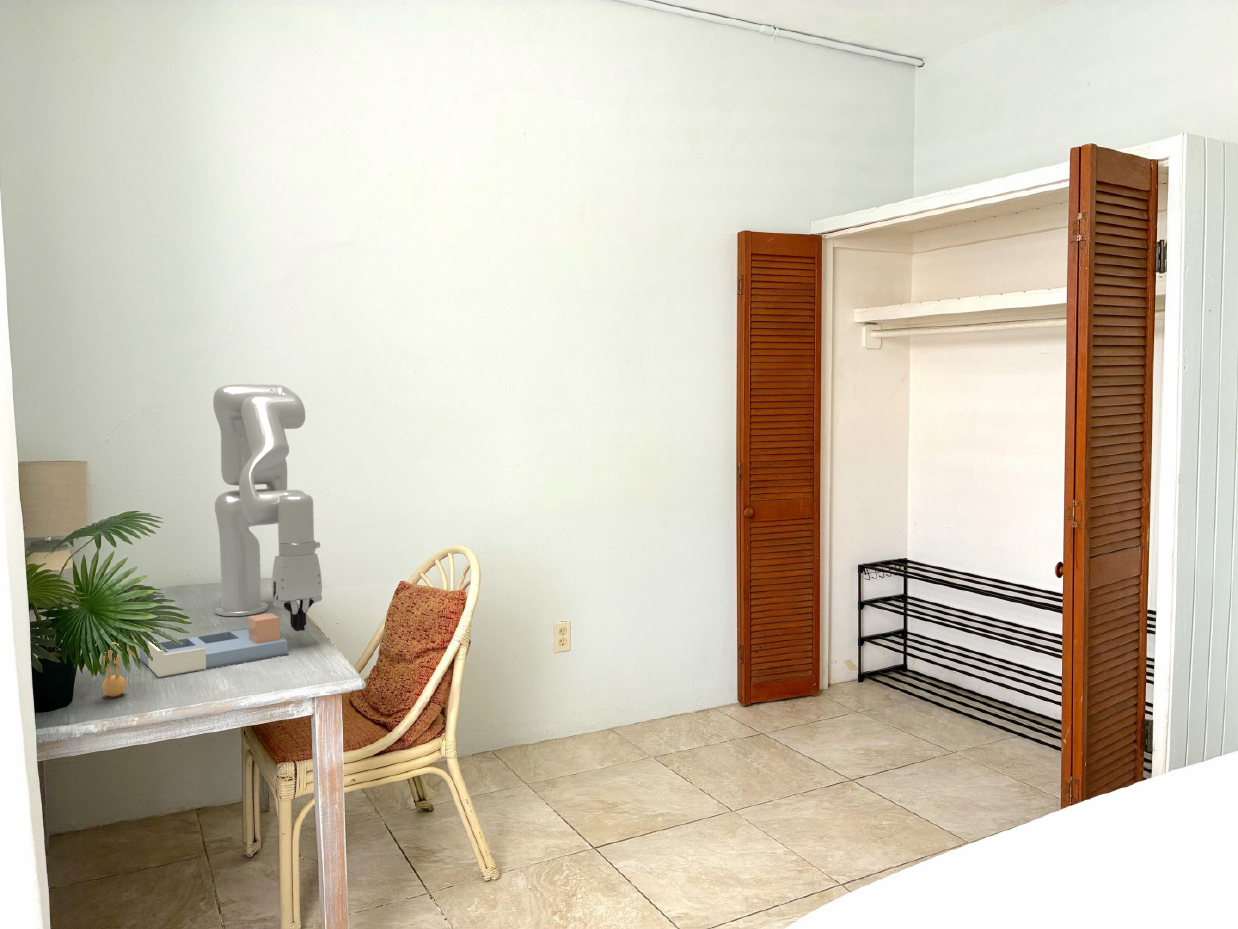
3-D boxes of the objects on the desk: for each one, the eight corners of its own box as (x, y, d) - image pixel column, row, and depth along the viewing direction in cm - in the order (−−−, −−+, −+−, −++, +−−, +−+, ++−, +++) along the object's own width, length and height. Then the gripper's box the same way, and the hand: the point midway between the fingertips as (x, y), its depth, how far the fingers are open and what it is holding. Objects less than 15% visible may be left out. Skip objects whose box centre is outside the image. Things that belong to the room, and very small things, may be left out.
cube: (248, 638, 203) (248, 616, 202) (271, 635, 206) (271, 613, 206) (256, 643, 199) (255, 621, 198) (279, 639, 202) (279, 617, 202)
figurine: (141, 690, 177) (138, 629, 176) (135, 700, 171) (132, 637, 170) (92, 695, 175) (89, 632, 174) (84, 705, 169) (82, 641, 168)
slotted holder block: (139, 658, 198) (138, 633, 197) (262, 638, 214) (261, 615, 214) (159, 678, 185) (158, 651, 184) (288, 655, 201) (288, 630, 201)
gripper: (322, 543, 213) (324, 621, 215) (256, 550, 204) (259, 631, 205) (335, 548, 207) (337, 627, 209) (268, 555, 198) (270, 639, 200)
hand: (298, 629), depth 207 cm, fingers closed
